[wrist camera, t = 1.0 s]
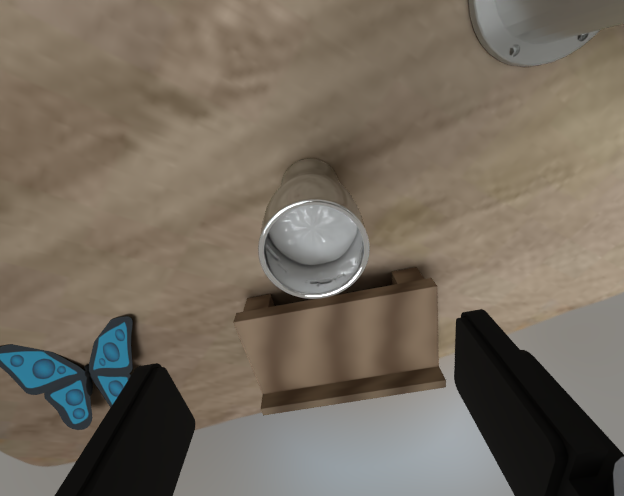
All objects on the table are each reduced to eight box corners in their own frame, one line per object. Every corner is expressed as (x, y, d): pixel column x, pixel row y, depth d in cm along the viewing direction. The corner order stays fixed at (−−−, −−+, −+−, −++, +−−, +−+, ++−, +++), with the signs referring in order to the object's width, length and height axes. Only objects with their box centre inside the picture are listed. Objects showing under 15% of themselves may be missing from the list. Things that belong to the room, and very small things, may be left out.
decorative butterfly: (59, 420, 44) (44, 439, 42) (-3, 347, 39) (-25, 362, 37) (185, 386, 44) (177, 403, 41) (138, 307, 38) (126, 319, 36)
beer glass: (316, 231, 33) (324, 319, 19) (263, 195, 31) (232, 265, 17) (357, 180, 30) (398, 241, 17) (302, 138, 29) (300, 169, 15)
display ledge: (420, 262, 35) (445, 297, 29) (423, 343, 41) (445, 387, 34) (242, 295, 36) (229, 335, 30) (269, 368, 42) (263, 415, 36)
